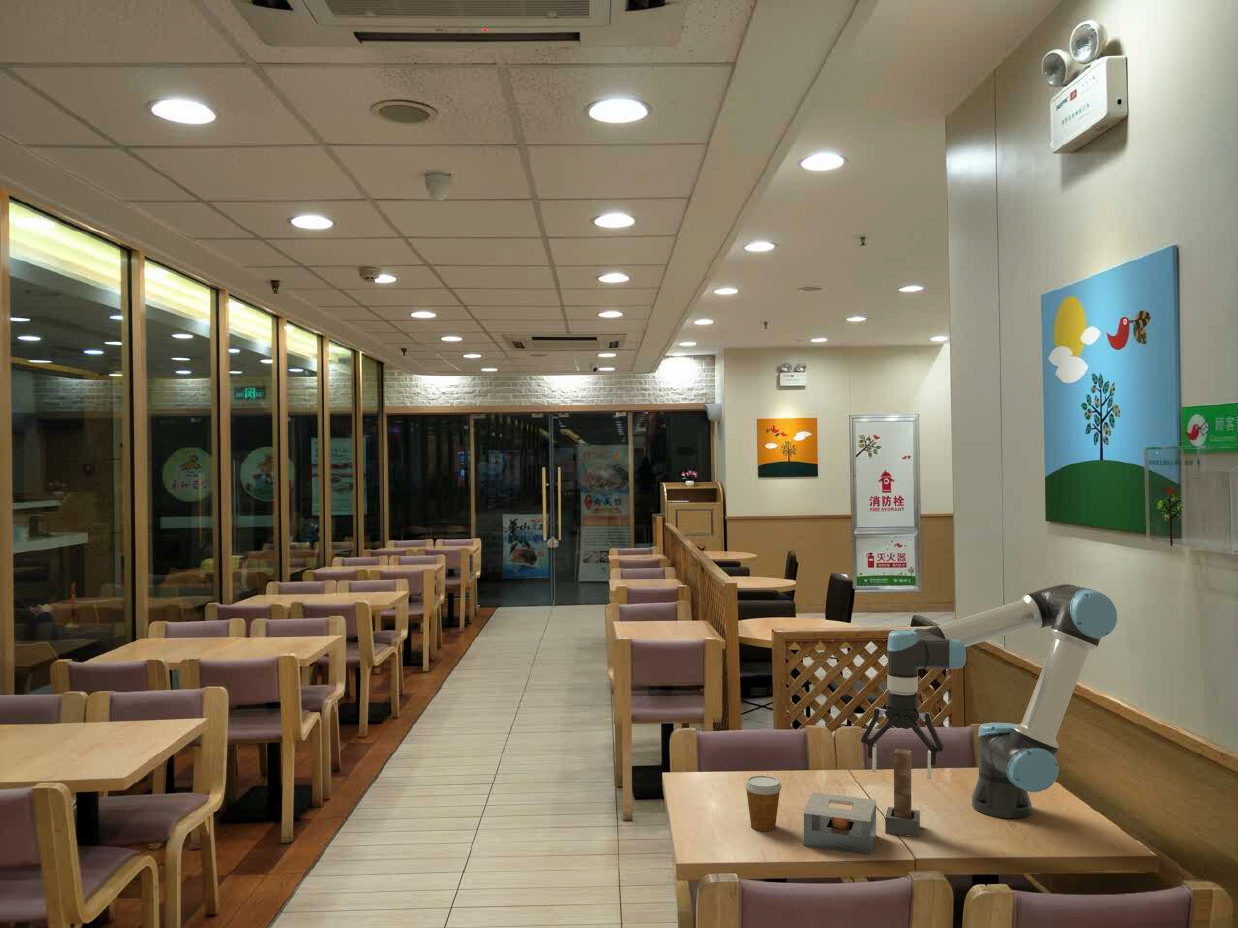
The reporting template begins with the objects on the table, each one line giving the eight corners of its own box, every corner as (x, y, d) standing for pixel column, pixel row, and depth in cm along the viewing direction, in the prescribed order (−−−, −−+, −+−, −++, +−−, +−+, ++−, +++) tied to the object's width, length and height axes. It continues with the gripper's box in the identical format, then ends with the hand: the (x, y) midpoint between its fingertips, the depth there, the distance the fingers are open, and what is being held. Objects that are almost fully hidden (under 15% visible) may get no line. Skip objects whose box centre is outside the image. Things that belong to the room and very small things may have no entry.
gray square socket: (920, 825, 246) (920, 810, 246) (918, 837, 239) (918, 821, 239) (888, 821, 249) (888, 806, 249) (885, 832, 242) (885, 817, 242)
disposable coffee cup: (756, 817, 253) (756, 772, 253) (788, 825, 247) (788, 779, 247) (737, 827, 245) (737, 781, 245) (769, 836, 239) (769, 789, 239)
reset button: (850, 826, 238) (850, 810, 238) (848, 832, 234) (848, 816, 234) (832, 824, 240) (832, 808, 240) (830, 830, 236) (830, 814, 236)
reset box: (876, 835, 240) (876, 799, 240) (870, 854, 228) (870, 817, 228) (812, 826, 246) (812, 792, 246) (803, 845, 234) (803, 808, 234)
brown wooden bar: (911, 827, 245) (911, 750, 245) (910, 833, 241) (910, 754, 242) (895, 825, 247) (895, 748, 247) (894, 831, 243) (893, 753, 243)
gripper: (954, 692, 243) (953, 775, 243) (854, 683, 252) (853, 763, 252) (953, 699, 236) (952, 784, 236) (851, 689, 245) (850, 772, 245)
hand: (901, 774), depth 244 cm, fingers open, 13 cm apart
